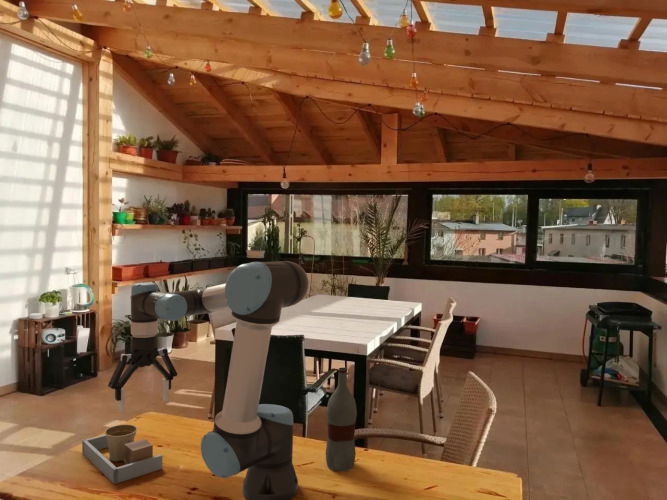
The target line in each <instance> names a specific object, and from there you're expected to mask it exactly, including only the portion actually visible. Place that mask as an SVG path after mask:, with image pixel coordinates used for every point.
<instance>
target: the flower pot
mask: <svg viewBox="0 0 667 500" xmlns="http://www.w3.org/2000/svg"><path fill="white" fill-rule="evenodd" d="M137 431H138V426H136V425H133V424H116V425H112V426H111V427H108V428H107V429H105V430H104V435H106V438H107V440H108V447H107V448H108V455H109V461H112V462H116V463H117V462H119V461H121V462H124V444H127V443H131V442H134V441H135V437H136V435H137Z"/></svg>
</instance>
